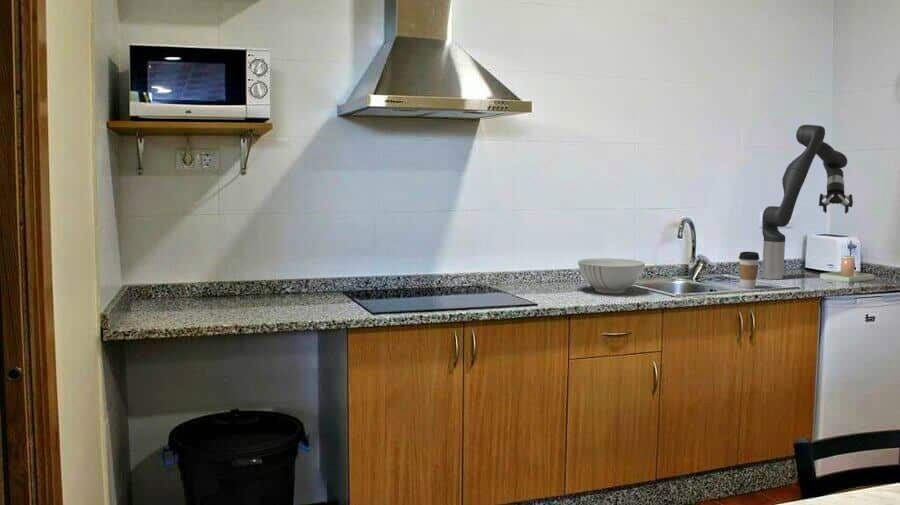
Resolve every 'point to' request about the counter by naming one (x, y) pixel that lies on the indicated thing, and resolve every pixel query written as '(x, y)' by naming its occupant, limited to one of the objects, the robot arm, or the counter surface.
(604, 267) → the decorative bowl
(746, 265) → the coffee cup
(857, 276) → the tray
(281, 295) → the counter surface
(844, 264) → the tumbler
